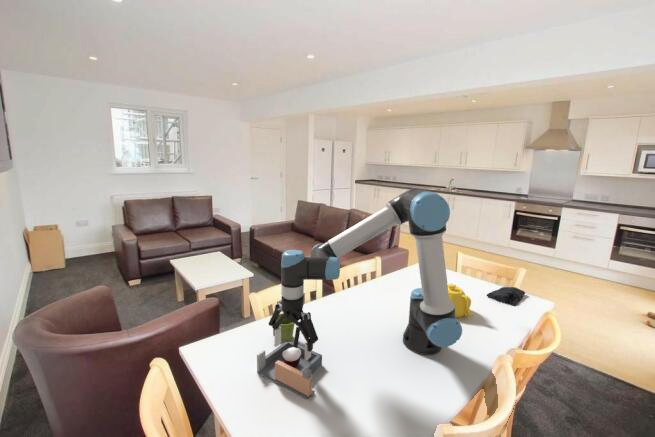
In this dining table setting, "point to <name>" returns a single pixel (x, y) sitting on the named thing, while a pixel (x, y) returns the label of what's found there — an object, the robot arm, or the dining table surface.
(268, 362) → the box
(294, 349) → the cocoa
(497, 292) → the dark slate chunk
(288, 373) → the cover
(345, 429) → the dining table surface
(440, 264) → the robot arm
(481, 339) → the dining table surface
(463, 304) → the teapot
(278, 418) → the dining table surface
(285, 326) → the plant pot
